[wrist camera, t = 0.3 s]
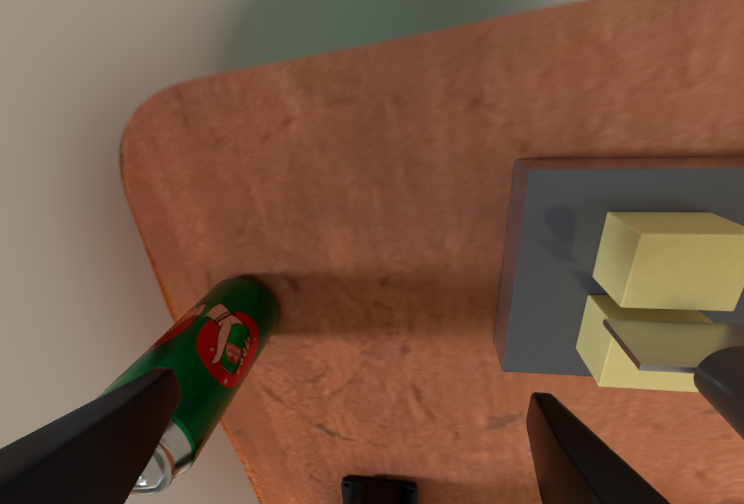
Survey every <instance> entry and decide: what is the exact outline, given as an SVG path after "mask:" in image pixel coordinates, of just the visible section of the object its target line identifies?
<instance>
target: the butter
mask: <svg viewBox="0 0 744 504" xmlns="http://www.w3.org/2000/svg"><path fill="white" fill-rule="evenodd" d="M593 278H594V279H595V280H596V281H597V282H598V283H599V284H600V285H601V287H602V288H603V289H604V290H605V291H606V292H607V293H608V294H609V295H588V297H587V302H586V306H585V310H584V315H583V319H582V323H581V327H580V332H579V336H578V340H577V345H576V349H577V351H578V353H579V354H580V356H581V358H582V359H583V361H584V362H585V364H586V366H587V367H588V369H589V371H590V372H591V374H592V376H593V377H594V379H595V381H596V382H597V384H598V386H601V387H618V388H635V389H651V390H668V391H685V392H699V391H698V389H697V388H696V386H695V384H694V379H693V377H694V374H693V373H675V372H656V371H640V370H638V368H637V367H636V366H635V365H634V363H633V362H632V361H631V360H630V358H629V357H628V356H627V354H626V353H625V352H624V351H623V349H622V348H621V347H620V346H619V344H618V343H617V342H616V340H615V339H614V338H613V337H612V335H611V334H610V333H609V331H608V330H607V329H606V328H605V326H604V325H603V320H604V319H630V320H656V321H682V322H709V323H713V322H712V321H710V320H709V319H708V318H707V317H705V316H704V315H703V314H702V313H700V312H699V311H698V310H708V311H734V309H735V307H736V304H737V302H738V300H739V297H740V295H741V293H742V290H743V288H744V226H742V225H739V224H737V223H735V222H732V221H730V220H727V219H725V218H723V217H720V216H718V215H715V214H713V213H711V212H608V213H607V216H606V220H605V224H604V229H603V233H602V237H601V241H600V246H599V250H598V254H597V259H596V263H595V267H594V271H593Z"/></svg>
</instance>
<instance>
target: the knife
mask: <svg viewBox="0 0 744 504" xmlns="http://www.w3.org/2000/svg"><path fill="white" fill-rule="evenodd" d="M603 325H604V326H605V328H606V329H607V330H608V331H609V333H610V334H611V335H612V337H613V338H614V339H615V340H616V342H617V343H618V344H619V346H620V347H621V348H622V349H623V351H624V352H625V353H626V354H627V356H628V357H629V358H630V360H631V361H632V362H633V363H634V365H635V366H636V367H637V368H638V370H640V371H656V372H675V373H693V374H694V377H693V379H694V384H695V386H696V388H697V389H698V391H699V392H700V393H701V394H702V395H703V396H704V397H705V398H706V399H707V400H708V401H709V403H710V404H711V405H712V406H713V407H714V408H715V409H716V410H717V411H718V412H719V413H720V414H721V415H722V417H723V418H724V419H725V420H726V421H727V422H728V423H729V424H730V425H731V426H732V427H733V428H734V429H735V430H736V432H737V433H738V434H739V435H740V436H741V437H742V438H743V439H744V324H735V323H709V322H682V321H656V320H630V319H604V320H603Z"/></svg>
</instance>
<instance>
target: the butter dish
mask: <svg viewBox="0 0 744 504" xmlns="http://www.w3.org/2000/svg"><path fill="white" fill-rule="evenodd" d="M608 212H711V213H713V214H715V215H718V216H720V217H723V218H725V219H727V220H730V221H732V222H735V223H737V224H739V225H742V226H744V157H668V158H582V159H517V160H516V161H515V167H514V175H513V183H512V192H511V200H510V208H509V216H508V225H507V233H506V241H505V249H504V257H503V266H502V274H501V282H500V290H499V298H498V307H497V315H496V323H495V331H494V340H493V341H494V345H495V348H496V351H497V355H498V358H499V362H500V365H501V368H502V371H504V372H521V373H539V374H557V375H574V376H592V374H591V372H590V371H589V369H588V367H587V366H586V364H585V362H584V361H583V359H582V358H581V356H580V354H579V353H578V351H577V349H576V345H577V340H578V336H579V332H580V327H581V323H582V319H583V315H584V310H585V306H586V302H587V297H588V295H609V294H608V293H607V292H606V291H605V290H604V289H603V288H602V287H601V285H600V284H599V283H598V282H597V281H596V280H595V279H594V278H593V271H594V267H595V263H596V259H597V254H598V250H599V246H600V241H601V237H602V233H603V229H604V224H605V220H606V216H607V213H608ZM698 311H699V312H700V313H702V314H703V315H704V316H705V317H707V318H708V319H709V320H710V321H712V322H713V323H735V324H744V288H743V290H742V293H741V295H740V297H739V300H738V302H737V304H736V307H735V309H734V311H708V310H698ZM592 377H593V376H592Z"/></svg>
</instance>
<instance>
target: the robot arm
mask: <svg viewBox="0 0 744 504" xmlns="http://www.w3.org/2000/svg"><path fill="white" fill-rule="evenodd" d="M180 399H181V390H180V386H179V383H178V380H177V376H176V373H175V371H174V370H173V369H171V368H161V367H159V368H155V369H153V370H151V371H149V372H147V373H145V374H143V375H141V376H139V377H138V378H136V379H134V380H132V381H130V382H128V383H126V384H124V385H122V386H120V387H118V388H116V389H114V390H113V391H111V392H109V393H107V394H105V395H103V396H101V397H99V398H97V399H95V400H93V401H91V402H90V403H88V404H86V405H84V406H82V407H80V408H78V409H76V410H74V411H72V412H70V413H68V414H66V415H65V416H63V417H61V418H59V419H57V420H55V421H53V422H52V423H49V424H47V425H45V426H44V427H42V428H40V429H38V430H36V431H34V432H32V433H30V434H28V435H26V436H24V437H22V438H20V439H19V440H17V441H15V442H13V443H11V444H9V445H7V446H5V447H3V448H1V449H0V504H124V503H125V501H126V499H127V498H128V496H129V494H130V493H131V491H132V490H133V488H134V486H135V485H136V483H137V481H138V480H139V478H140V476H141V475H142V473H143V472H144V470H145V468H146V467H147V465H148V463H149V461H150V460H151V458H152V456H153V454H154V452H155V450H156V448H157V446H158V444H159V442H160V440H161V438H162V436H163V434H164V432H165V430H166V428H167V426H168V424H169V422H170V420H171V418H172V416H173V414H174V412H175V410H176V408H177V406H178V404H179V402H180ZM526 424H527V431H528V436H529V441H530V446H531V451H532V456H533V461H534V466H535V471H536V476H537V481H538V486H539V491H540V496H541V499H542V503H543V504H670V503H669V502H668V501H667V500H666V499H665V498H664V497H663V496H662V495H661V494H659V493H658V492H657V491H656V490H655V489H654V488H653V487H652V486H651V485H650V484H649V483H648V482H646V481H645V480H644V479H643V478H642V477H641V476H640V475H639V474H638V473H637V472H636V471H635V470H633V469H632V468H631V467H630V466H629V465H628V464H627V463H626V462H625V461H624V460H623V459H622V458H620V457H619V456H618V455H617V454H616V453H615V452H614V451H613V450H612V449H611V448H610V447H609V446H607V445H606V444H605V443H604V442H603V441H602V440H601V439H600V438H599V437H598V436H597V435H596V434H594V433H593V432H592V431H591V430H590V429H589V428H588V427H587V426H586V425H585V424H584V423H583V422H581V421H580V420H579V419H578V418H577V417H576V416H575V415H574V414H573V413H572V412H571V411H570V410H568V409H567V408H566V407H565V406H564V405H563V404H562V403H561V402H560V401H559V400H558V399H557V398H555V397H554V396H553V395H552V394H549V393H538V392H535V393H532V395H531V397H530V403H529V408H528V413H527V420H526ZM341 486H342V496H343V504H417V496H418V487H417V485H416V484H414V483H408V482H398V481H387V480H377V479H366V478H356V477H344V478H343V479H342V484H341Z"/></svg>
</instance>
